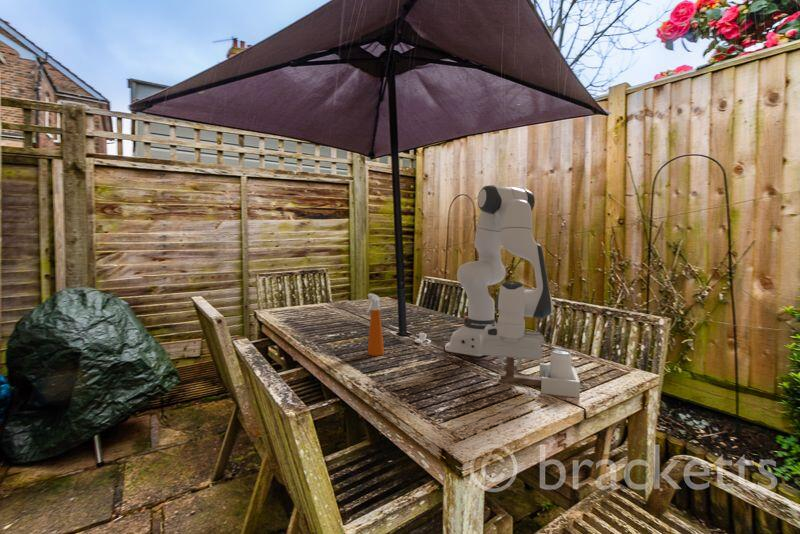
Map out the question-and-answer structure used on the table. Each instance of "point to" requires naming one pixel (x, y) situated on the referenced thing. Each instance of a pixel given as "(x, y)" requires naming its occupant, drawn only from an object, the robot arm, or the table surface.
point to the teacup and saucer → (422, 338)
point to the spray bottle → (375, 327)
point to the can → (560, 364)
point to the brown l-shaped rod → (519, 378)
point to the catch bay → (559, 383)
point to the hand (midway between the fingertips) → (510, 369)
